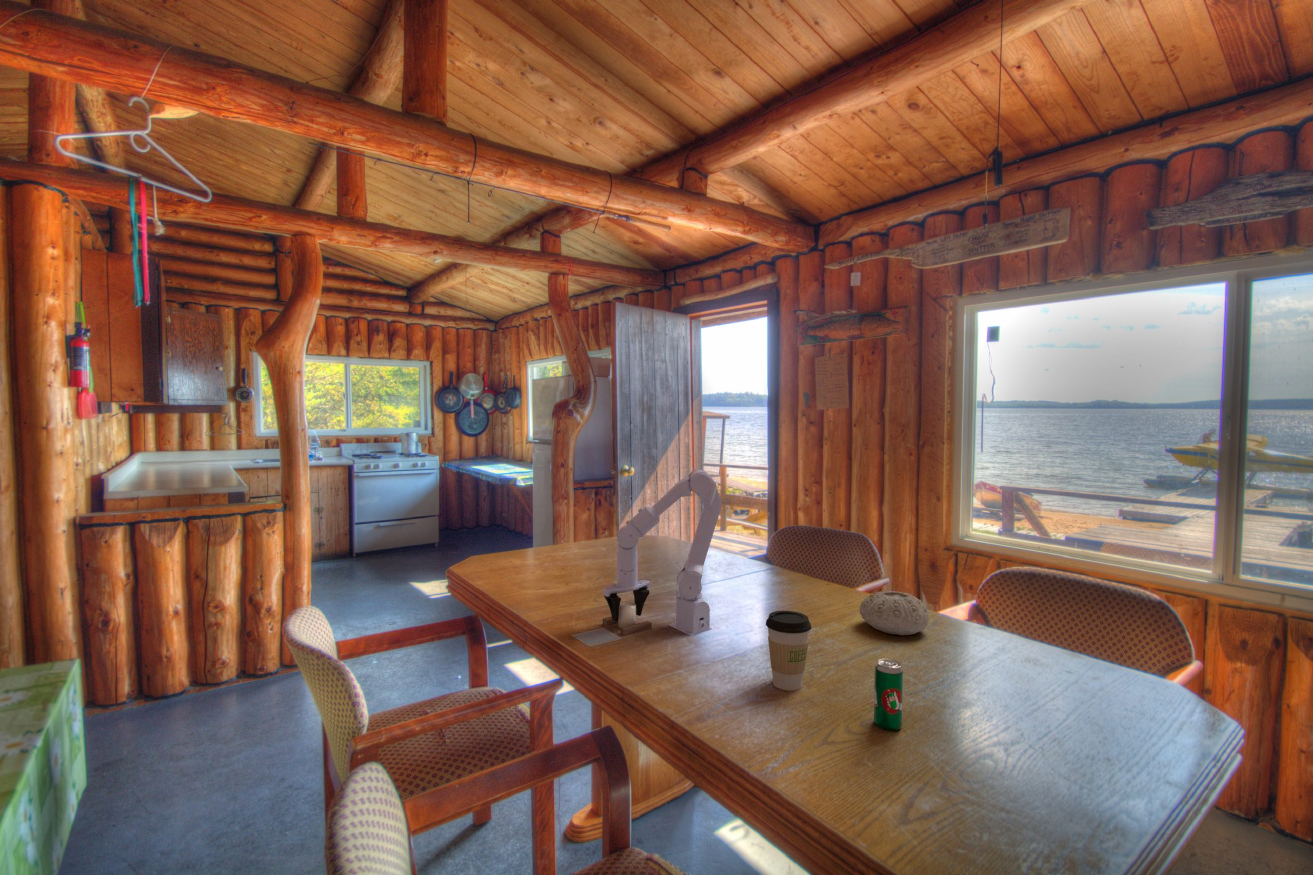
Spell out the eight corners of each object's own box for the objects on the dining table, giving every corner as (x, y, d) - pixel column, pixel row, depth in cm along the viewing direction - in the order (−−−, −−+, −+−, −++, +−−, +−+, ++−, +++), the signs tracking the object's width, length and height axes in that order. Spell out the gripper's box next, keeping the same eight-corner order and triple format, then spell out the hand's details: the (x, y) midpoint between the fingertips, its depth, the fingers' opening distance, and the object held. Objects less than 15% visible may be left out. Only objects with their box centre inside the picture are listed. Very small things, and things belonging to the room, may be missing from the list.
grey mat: (622, 639, 156) (622, 638, 156) (589, 648, 150) (589, 646, 150) (602, 629, 164) (602, 627, 164) (570, 636, 158) (570, 635, 158)
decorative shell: (862, 637, 159) (863, 600, 159) (856, 616, 177) (857, 582, 176) (934, 643, 155) (935, 606, 155) (921, 621, 172) (921, 587, 172)
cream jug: (639, 626, 165) (639, 605, 165) (624, 630, 162) (624, 608, 162) (625, 619, 171) (625, 599, 170) (610, 623, 168) (610, 602, 167)
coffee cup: (815, 694, 126) (816, 624, 125) (768, 694, 126) (769, 624, 125) (804, 674, 135) (805, 609, 135) (761, 674, 136) (762, 609, 135)
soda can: (878, 715, 117) (880, 655, 117) (905, 724, 114) (906, 662, 113) (869, 725, 113) (870, 663, 113) (897, 734, 110) (898, 670, 109)
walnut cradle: (651, 630, 164) (651, 622, 164) (624, 637, 158) (624, 629, 158) (629, 619, 172) (629, 612, 172) (602, 625, 167) (602, 618, 167)
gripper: (640, 562, 172) (639, 608, 173) (597, 569, 164) (596, 618, 164) (654, 567, 167) (654, 615, 167) (611, 575, 158) (610, 625, 158)
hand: (626, 617), depth 165 cm, fingers open, 7 cm apart
